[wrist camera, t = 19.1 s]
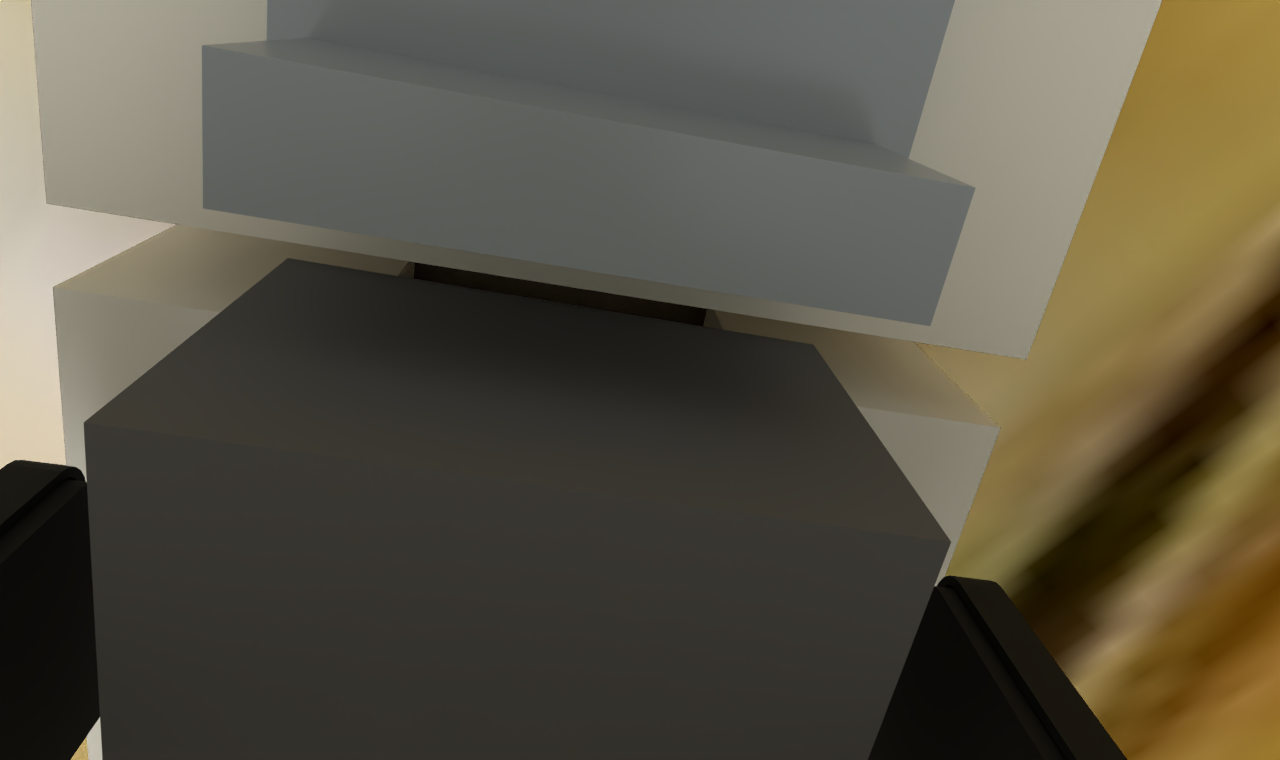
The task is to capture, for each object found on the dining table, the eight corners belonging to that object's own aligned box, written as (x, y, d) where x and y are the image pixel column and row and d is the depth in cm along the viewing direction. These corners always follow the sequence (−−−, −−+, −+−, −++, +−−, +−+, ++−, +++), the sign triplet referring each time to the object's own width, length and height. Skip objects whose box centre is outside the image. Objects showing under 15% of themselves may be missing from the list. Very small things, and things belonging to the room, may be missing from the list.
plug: (683, 609, 16) (757, 1050, 9) (327, 565, 15) (115, 1014, 8) (767, 279, 14) (950, 542, 7) (350, 206, 13) (84, 422, 6)
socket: (784, 699, 18) (834, 869, 15) (199, 639, 17) (92, 811, 13) (1104, -319, 12) (1340, -473, 8) (186, -564, 10) (-37, -888, 7)
